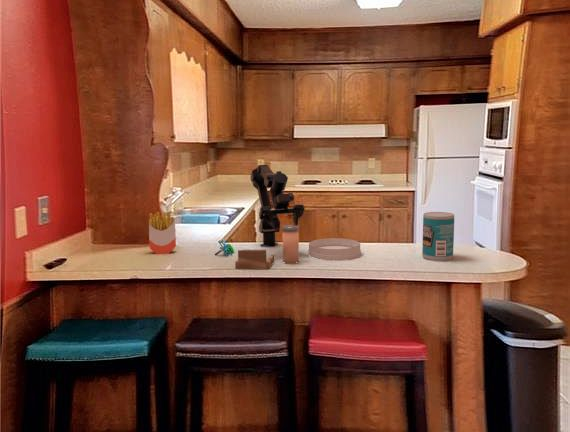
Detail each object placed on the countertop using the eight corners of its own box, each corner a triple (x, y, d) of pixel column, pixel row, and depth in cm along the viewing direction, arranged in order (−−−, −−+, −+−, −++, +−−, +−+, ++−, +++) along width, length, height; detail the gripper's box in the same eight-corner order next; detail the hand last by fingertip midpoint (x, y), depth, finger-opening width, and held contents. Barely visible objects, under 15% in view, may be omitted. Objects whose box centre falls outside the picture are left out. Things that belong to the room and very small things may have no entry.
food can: (455, 255, 214) (456, 212, 211) (450, 262, 204) (451, 217, 201) (425, 253, 220) (426, 211, 217) (419, 259, 209) (420, 215, 206)
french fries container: (174, 253, 228) (172, 212, 225) (149, 254, 228) (147, 213, 225) (176, 251, 233) (174, 211, 230) (151, 251, 232) (149, 212, 229)
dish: (334, 264, 206) (334, 251, 205) (297, 254, 223) (297, 243, 222) (371, 255, 220) (371, 243, 219) (334, 246, 237) (334, 236, 236)
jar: (285, 259, 214) (284, 224, 212) (301, 260, 212) (300, 225, 210) (280, 263, 208) (279, 227, 205) (296, 264, 206) (296, 228, 203)
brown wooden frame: (242, 260, 214) (242, 243, 213) (274, 260, 212) (273, 243, 211) (235, 268, 201) (234, 250, 200) (269, 269, 199) (268, 251, 198)
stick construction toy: (228, 253, 218) (219, 237, 220) (215, 262, 219) (206, 246, 221) (239, 254, 229) (231, 239, 231) (226, 263, 230) (218, 248, 232)
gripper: (259, 187, 213) (267, 217, 205) (302, 185, 219) (312, 214, 210) (255, 204, 222) (262, 234, 213) (297, 201, 227) (306, 230, 219)
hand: (286, 228), depth 214 cm, fingers open, 9 cm apart
